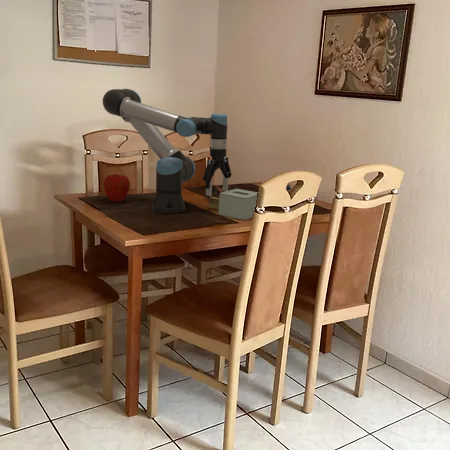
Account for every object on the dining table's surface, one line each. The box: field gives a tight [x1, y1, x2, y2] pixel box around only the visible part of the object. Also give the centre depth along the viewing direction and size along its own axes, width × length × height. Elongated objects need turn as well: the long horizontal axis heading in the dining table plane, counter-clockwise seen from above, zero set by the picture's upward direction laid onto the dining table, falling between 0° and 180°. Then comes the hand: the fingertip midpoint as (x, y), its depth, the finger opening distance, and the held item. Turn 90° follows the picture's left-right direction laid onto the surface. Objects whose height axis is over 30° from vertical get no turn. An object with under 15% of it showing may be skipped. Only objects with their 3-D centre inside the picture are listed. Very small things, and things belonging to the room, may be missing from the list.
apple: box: [103, 172, 131, 203], centre depth 254 cm, size 12×12×14 cm
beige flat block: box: [208, 196, 219, 211], centre depth 251 cm, size 2×6×5 cm, turn 56°
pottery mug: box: [204, 185, 226, 200], centre depth 270 cm, size 12×10×8 cm
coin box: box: [218, 188, 259, 221], centre depth 241 cm, size 14×14×10 cm
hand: (217, 193), depth 250 cm, fingers open, 13 cm apart
